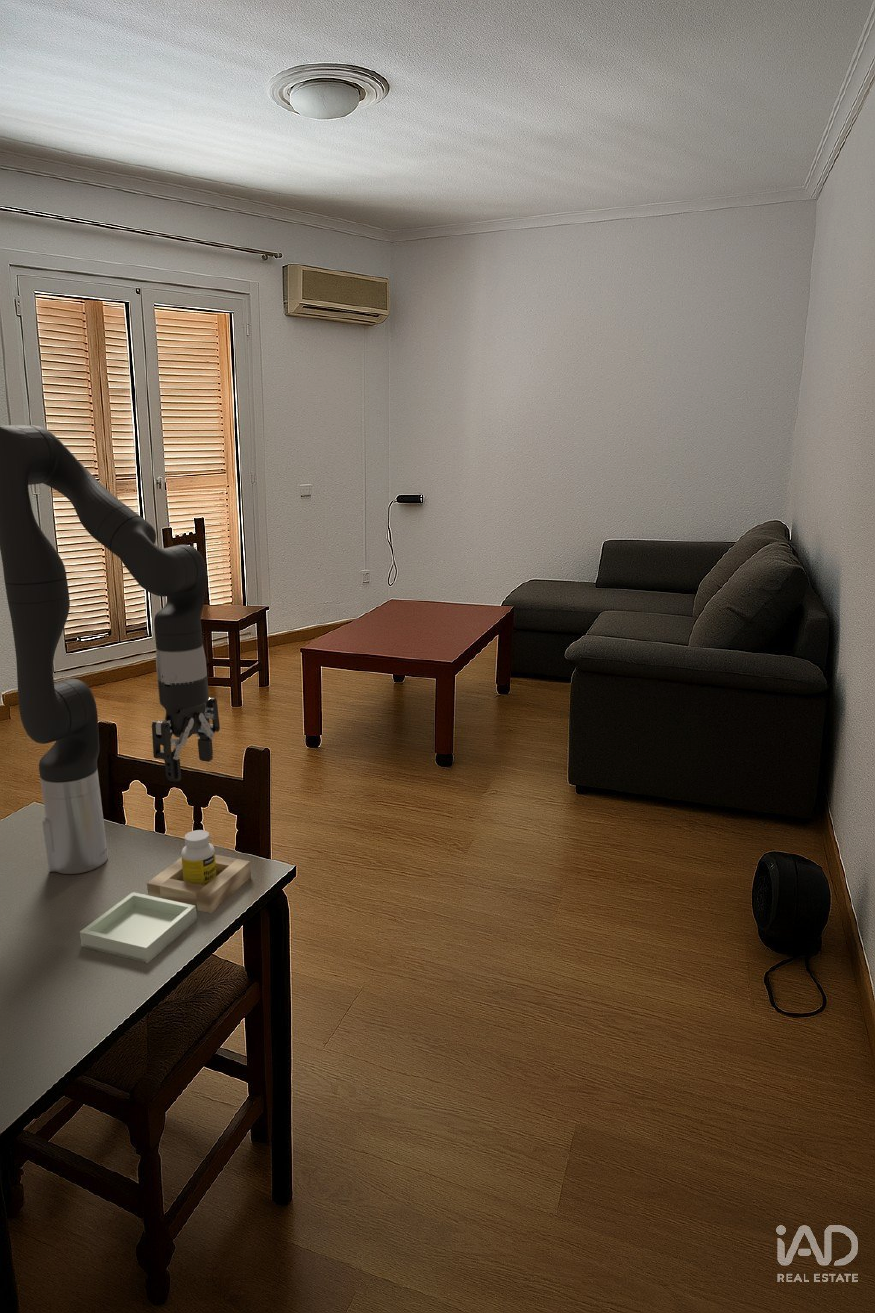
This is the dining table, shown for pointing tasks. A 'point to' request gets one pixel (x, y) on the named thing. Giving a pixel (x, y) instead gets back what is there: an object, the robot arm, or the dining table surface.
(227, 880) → the holder block
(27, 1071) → the dining table surface
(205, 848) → the supplement bottle
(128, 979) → the dining table surface
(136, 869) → the dining table surface
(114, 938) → the tray
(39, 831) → the dining table surface
